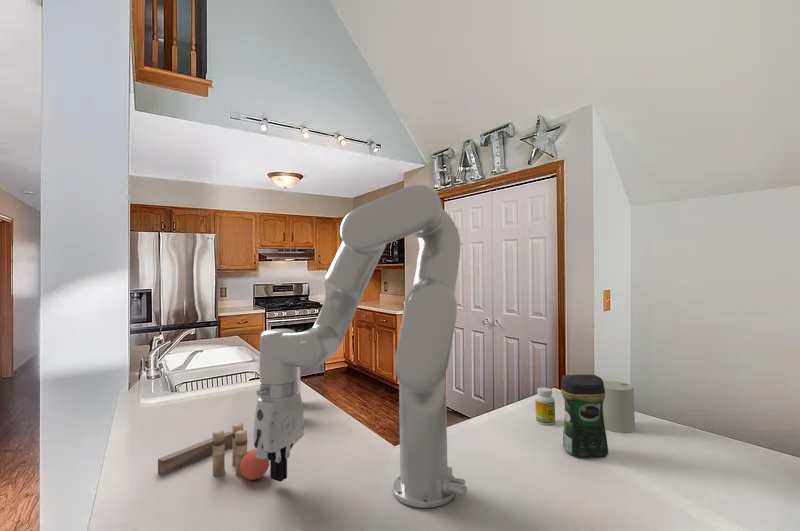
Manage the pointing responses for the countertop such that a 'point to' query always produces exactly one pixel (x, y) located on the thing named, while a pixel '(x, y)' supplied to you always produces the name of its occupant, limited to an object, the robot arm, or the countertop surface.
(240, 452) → the front pin
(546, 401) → the supplement bottle
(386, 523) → the countertop surface
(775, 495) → the countertop surface
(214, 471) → the left back pin
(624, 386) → the can
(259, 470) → the ball
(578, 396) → the coffee jar
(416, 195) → the robot arm
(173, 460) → the back wall
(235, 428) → the right back pin
